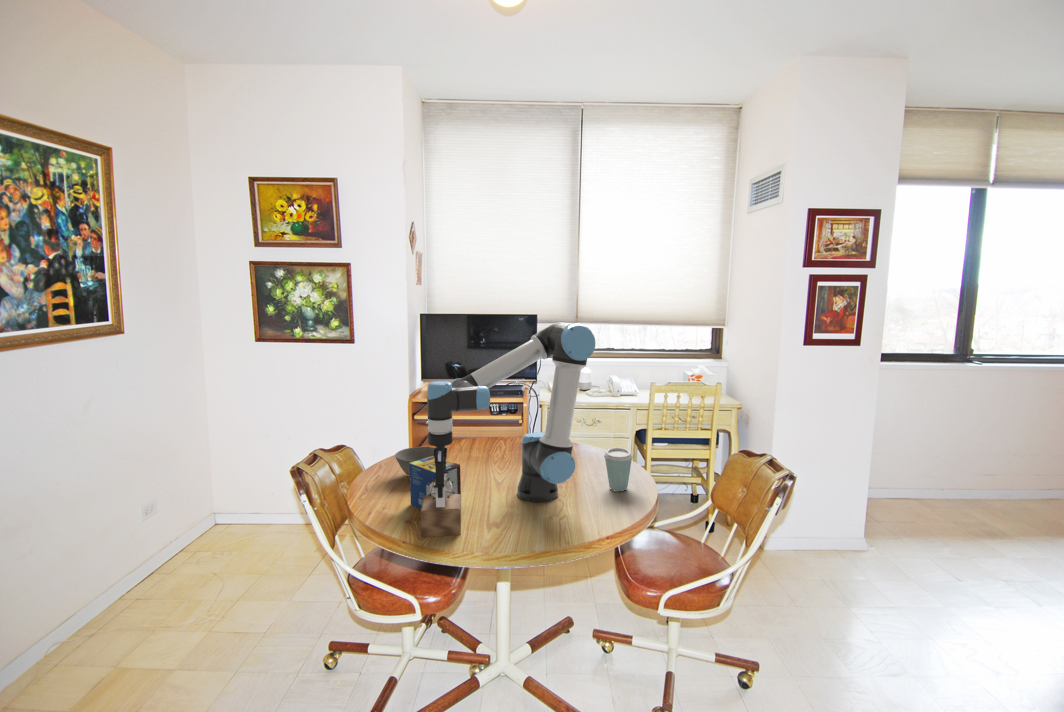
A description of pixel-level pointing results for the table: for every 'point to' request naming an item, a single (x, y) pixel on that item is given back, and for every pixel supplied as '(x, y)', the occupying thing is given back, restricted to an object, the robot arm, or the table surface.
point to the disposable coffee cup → (618, 467)
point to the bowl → (412, 456)
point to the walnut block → (441, 516)
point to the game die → (447, 488)
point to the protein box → (430, 478)
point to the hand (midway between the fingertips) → (441, 499)
